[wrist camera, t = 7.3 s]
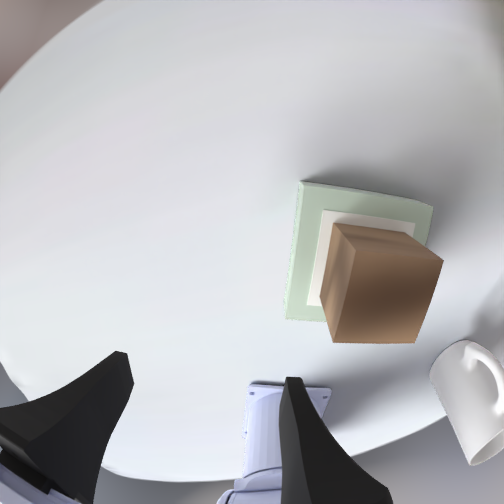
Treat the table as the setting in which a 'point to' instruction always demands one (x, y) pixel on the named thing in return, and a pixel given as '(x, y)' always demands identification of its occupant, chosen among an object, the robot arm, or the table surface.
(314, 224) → the base plate
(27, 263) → the table surface
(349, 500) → the robot arm
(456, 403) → the mug
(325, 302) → the walnut cube
